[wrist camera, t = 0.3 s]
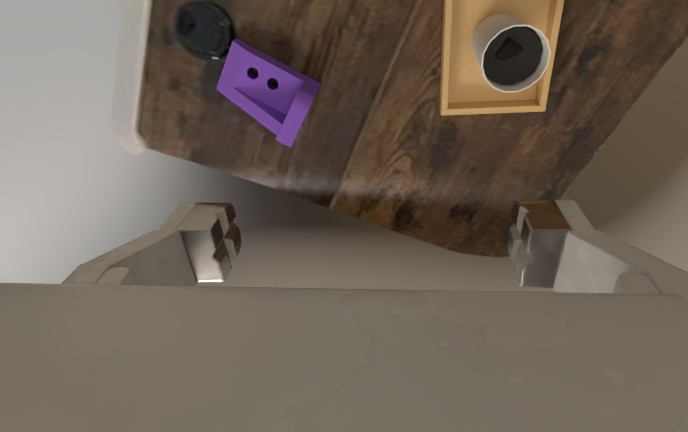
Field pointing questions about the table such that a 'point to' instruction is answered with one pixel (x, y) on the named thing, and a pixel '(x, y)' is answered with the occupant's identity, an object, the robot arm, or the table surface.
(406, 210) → the table surface
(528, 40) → the white tumbler
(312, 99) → the bracket
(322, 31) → the table surface
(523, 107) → the tray
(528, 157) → the table surface
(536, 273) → the robot arm
